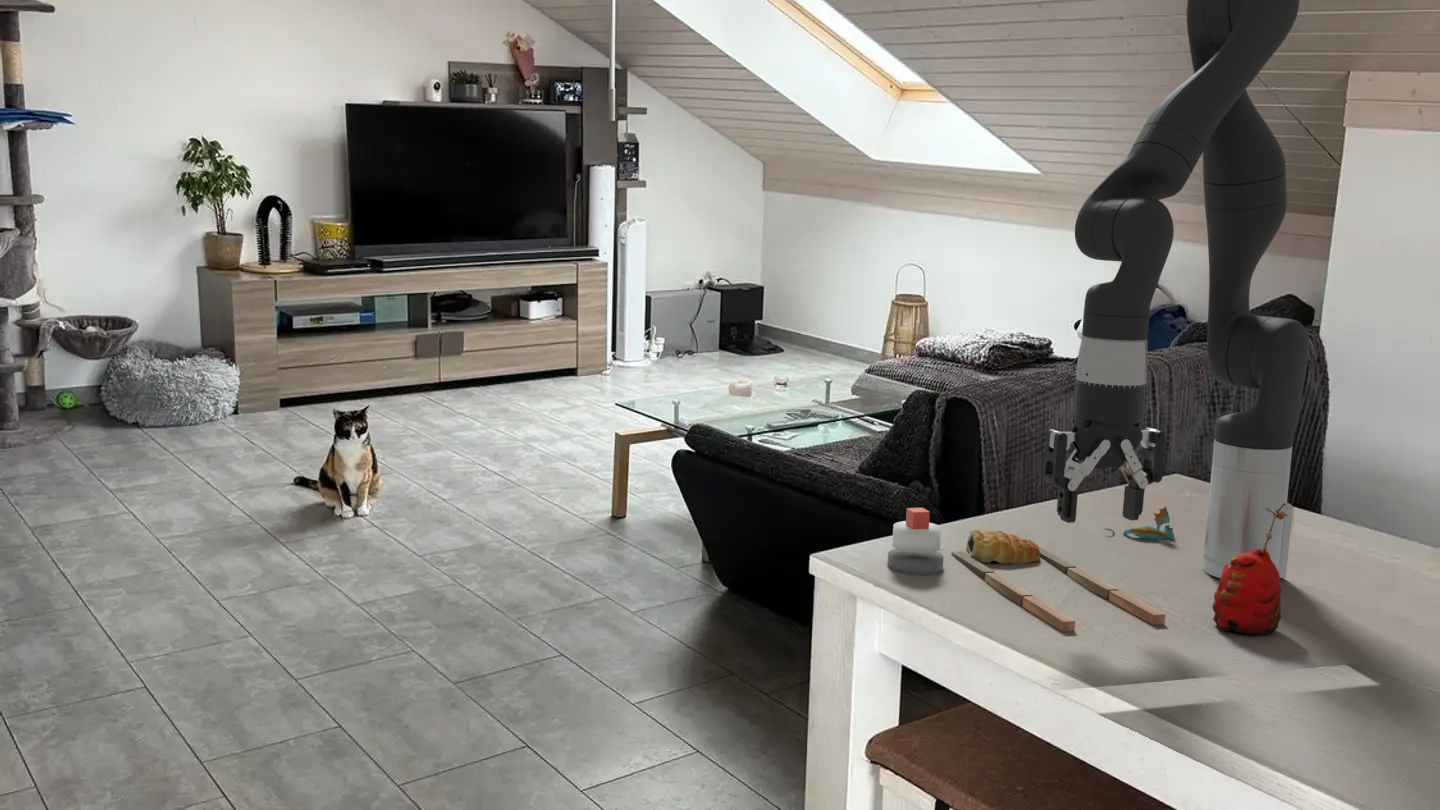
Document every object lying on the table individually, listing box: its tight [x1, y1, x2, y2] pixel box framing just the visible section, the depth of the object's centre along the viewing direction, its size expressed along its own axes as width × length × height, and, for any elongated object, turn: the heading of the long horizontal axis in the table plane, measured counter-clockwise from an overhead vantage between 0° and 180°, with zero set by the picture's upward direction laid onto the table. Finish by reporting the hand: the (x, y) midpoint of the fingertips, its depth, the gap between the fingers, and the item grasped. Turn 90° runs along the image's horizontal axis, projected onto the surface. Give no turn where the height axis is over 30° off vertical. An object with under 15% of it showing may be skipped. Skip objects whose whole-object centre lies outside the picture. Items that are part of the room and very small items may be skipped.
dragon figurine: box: [1104, 505, 1175, 547], centre depth 181 cm, size 6×7×8 cm
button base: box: [887, 548, 944, 576], centre depth 165 cm, size 7×7×2 cm
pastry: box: [966, 529, 1041, 565], centre depth 170 cm, size 9×7×4 cm
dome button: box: [891, 507, 942, 553], centre depth 165 cm, size 6×6×5 cm
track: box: [951, 546, 1167, 633], centre depth 159 cm, size 13×28×1 cm, turn 16°
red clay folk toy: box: [1212, 503, 1288, 636], centre depth 145 cm, size 8×7×15 cm
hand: (1099, 520), depth 148 cm, fingers open, 7 cm apart
